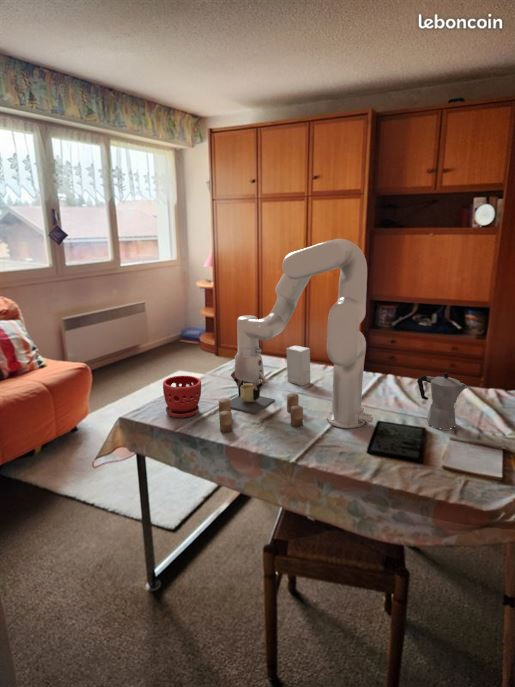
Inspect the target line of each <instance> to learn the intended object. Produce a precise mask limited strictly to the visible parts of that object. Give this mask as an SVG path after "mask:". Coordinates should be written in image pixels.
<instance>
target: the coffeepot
mask: <svg viewBox="0 0 515 687" xmlns="http://www.w3.org/2000/svg"><path fill="white" fill-rule="evenodd" d="M449 375H450V372H443V376H435V377H434V376H430V375H421V376H420V377H418V378H417V380H416V382H417V383H416V384H417V386H418V390H419V394H420V397H421V399H422V400H425V401H427V400H429V397H428V396H426V395H425V392H426V391H425V389H424V388H425V387H424V383H423V382H426V383H429V384H430V391H431V392H430V393H431V400H432V402H431V403H430V407H429V411H428V414H427V417H426V423H427V422H428V424H429V425H431V426H433V427H435V428H434V429H436V428H441V429H450V428H452V427H454V426H456V427H457V424H456V423H457V422H456V410H455V404H456V403H457V400H458V397H459V396H460V394H461V393H462V392H463V391H464V390H465V389H468V386H467V384H465V383H462V382H460V380H458V379H456V378H452V377H449ZM428 424H427V425H428ZM429 425H428V426H429ZM431 426H430V427H431ZM433 427H432V428H433Z"/></svg>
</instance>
